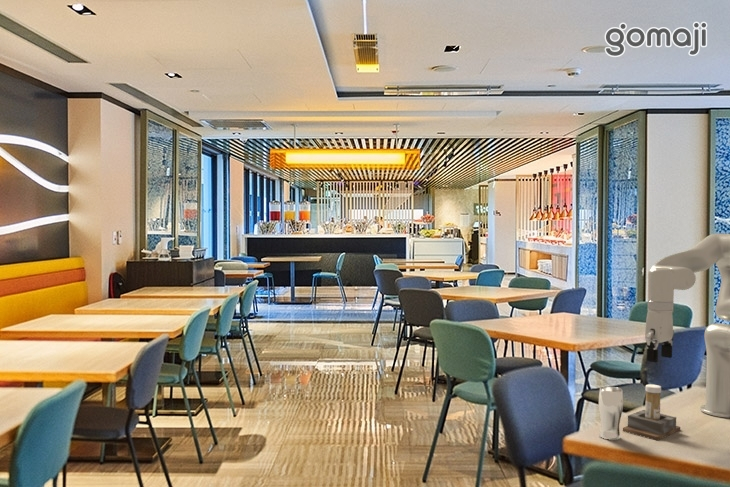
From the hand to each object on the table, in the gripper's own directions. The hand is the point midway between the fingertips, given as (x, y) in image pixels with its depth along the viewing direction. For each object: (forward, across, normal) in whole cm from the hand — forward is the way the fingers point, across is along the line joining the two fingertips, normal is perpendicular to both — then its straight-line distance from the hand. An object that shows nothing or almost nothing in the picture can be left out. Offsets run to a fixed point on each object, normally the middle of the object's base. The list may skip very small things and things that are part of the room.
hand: (659, 359), depth 201 cm
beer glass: (+22, +20, -6) cm, 31 cm away
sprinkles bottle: (+22, +3, -1) cm, 22 cm away
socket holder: (+23, +3, -1) cm, 23 cm away
